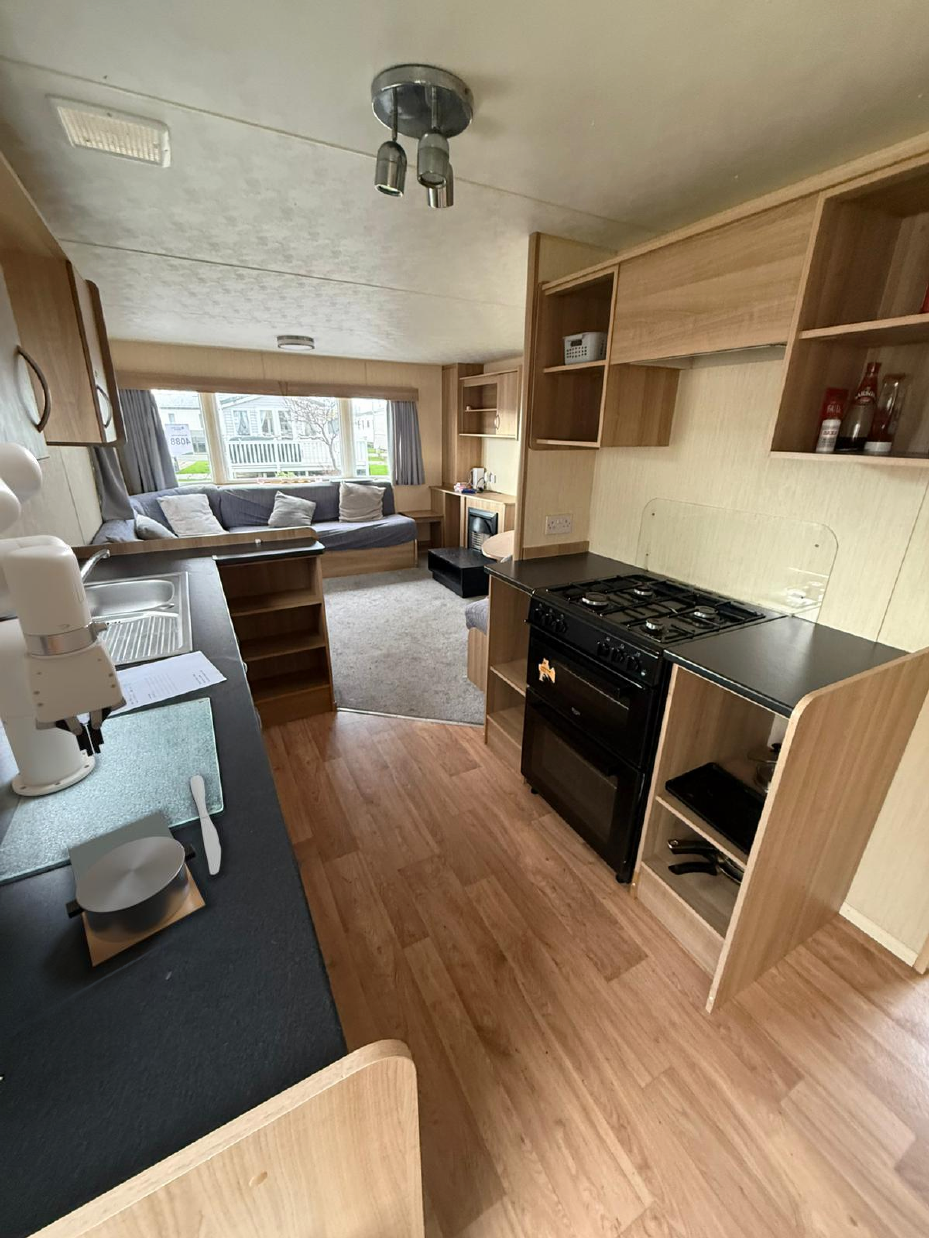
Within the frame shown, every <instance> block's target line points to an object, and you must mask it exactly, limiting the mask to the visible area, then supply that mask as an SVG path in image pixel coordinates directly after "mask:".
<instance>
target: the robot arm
mask: <svg viewBox="0 0 929 1238" xmlns="http://www.w3.org/2000/svg"><path fill="white" fill-rule="evenodd" d="M43 481H44V477H43V472H42V469H41V466H40V464H39V462H38V460H37V458H36V457H35V456H34V454H33V453H32V452H31V451H30V450H28V449H27V448H26V447H25V446H23V445H21V444H19V443H16V442H12V441H0V535H1V534H2V533H5V532H7V531H8V530H10V529H11V528H12V527H13V526H14V525H15V524H16V523H17V522H18V520H19V519H20V516H21V511H22V507H24V506H26V505H27V504H28V503H30V502H31V501H32V500H33V499H34V498H35V497H36V496H37V495H38V494H39V493H40V491H41V490H42V488H43V483H44V482H43ZM14 615H16V616H17V618H13V619H9V620H8V619H7V620H4V621H0V721H1V725H2V727H3V730H4V733H5V736H6V738H7V741H8V745H9V746H10V750H11V752H12V755H13V758H14V761H15V764H16V766H17V769H18V773H17V774H16V775H15V776H14V777H13V779H12V781H11V787H12V789H13V791H14V793H16V794H18V795H21V796H25V797H26V796H27V797H33V796H35V797H36V796H42V795H48V794H52V793H54V792H59V791H61V790H63V789H66V788H68V787H70V786H73V785H75V784H76V783H78V782H79V781H82V780H83V779H84V778H86V777H87V776H89V774H90V773H91V772H93V769H94V768H95V766H96V759H95V756H94V754H95V755H96V754H97V755H100V754H102V750H101V747H100V745H104V744H105V740H104V736H103V733H102V729H101V728H102V727H103V723H104V722H105V721H106V720H107V718H108V717H109V716H110V715H111V713H113V712H116V711H118V710H120V709H122V708H124V707H126V706H127V704H128V703H127V700H126V698H125V696H124V695H123V690H122V687H121V686H122V685H121V682H120V679H119V676H118V672H117V670H116V667H115V663H114V660H113V657H112V655H111V653H110V651H109V647H108V646H107V643H106V641H105V640H104V638H103V637H102V636H100V634H102V633H103V632H107V631H108V629H109V628H108V625H107V622H106V621H100V622H99V621H95V620H93V617H92V613H91V609H90V604H89V600H88V598H87V594H86V589H85V585H84V581H83V576H82V574H81V570H80V565H79V562H78V558H77V556H76V554H75V552H74V551H73V549H72V548H71V546H70V545H69V544H67V543H66V542H65V541H64V540H63V539H61V538H60V537H58V536H54V535H49V534H38V535H29V536H20V537H11V538H9V537H8V538H1V539H0V618H4V617H9V616H14ZM84 714H88V721H87V724H86V725H84V723H83V722H82V721H80V719H79V717H78V716H80V715H84Z"/></svg>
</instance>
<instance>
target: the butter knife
mask: <svg viewBox="0 0 929 1238" xmlns="http://www.w3.org/2000/svg"><path fill="white" fill-rule="evenodd" d="M189 784H190V788H191V792H192V797H193V798H194V801H195V804H196V809H197V811H198V815H199V820H200V825H201V833H202V839H203V844H204V850H205V855H206V858H207V863H208V870H209V875H210V876H211V875H212V876H213V875H217V874H218V873H219V871H220V866H221V858H222V856H221V855H222V848H221V845H220V840H219V835H218V832H217V829H216V827H215V825H214V824H213V822H212V820H211V817H210V815H209V812H208V810H207V805H206V787H205V781H204V779H203V777H202V776H201V775H199V774H197V775H193V776H192V777H191V778H190V780H189Z"/></svg>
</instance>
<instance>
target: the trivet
mask: <svg viewBox="0 0 929 1238" xmlns="http://www.w3.org/2000/svg"><path fill="white" fill-rule="evenodd" d="M184 863H185V867H186V871H187V875H188V879H189V891H188V895H187V897H186V899H185V901H184V903H183V904H182V906H181V907H180V908H179V910H178V911H177V912H176V913H175V914H174V915H173V916H172V917H171V918H170V919H169V920H167V921H166V922H165V923H164V924H162V925H161V926H159V927H158V928H156V929H154V930H153V931H151V932H149V933H147V934H145V935H142V936H140V937H137V938H134V939H131V940H127V941H121V942H106V941H103V940H100V939H98V938H96V937H95V936H94V935H93V934H92V932H91V930H90V927H89V925H88V922H87V919H86V916H85V913H84V912H83V913H81V916H82V920H83V925H84V930H85V935H86V940H87V944H88V948H89V953H90V958H91V963H92V967H95V966H97V965H99V964H101V963H102V962H105V961H106V960H109V959H110V958H111V957H114V956H115V955H118V954H119V953H121V952H123V951H125V950H126V949H128V948H130V947H132V946H134V945H135V944H138V943H139V942H141V941H142V940H144V939H146V938H148V937H150V936H151V935H154V934H155V933H157V932H159V931H161V930H163V929H164V928H166V927H168V926H171V924H173V923H175V922H177V921H179V920H181V919H183V918H185V917H187V916H188V915H190V914H192V913H193V912H195V911H197V910H199V909H201V908H203V907H204V906H206V903H205V901H204V899H203V897H202V895H201V893H200V891H199V889H198V887H197V884H196V882H195V880H194V878H193V876H192V874H191V872H190V870H189V868H188V866H187V864H186V862H184Z"/></svg>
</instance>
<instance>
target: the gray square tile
mask: <svg viewBox="0 0 929 1238" xmlns="http://www.w3.org/2000/svg"><path fill="white" fill-rule="evenodd" d="M148 837H168V838H171V839H174V836H173V834H172V833H171V829H170V828H169V826H168V824H167V822H166V820H165V818H164V815H163V814H162V812H161V810H160V811H158V812H155V813H153V814H151V815H148V816H145V817H143V818H141V819H139V820H137V821H134V822H131V823H128V824H127V825H124V826H122V827H119V828H118V829H115V830H113V831H110V832H107V833H105V834H103V835H100V836H98V837H96V838H93V839H91V840H89V841H86V842H84V843H81V844H79V845H76V846H74V847H72V848H69V849H68V854H69V861H70V864H71V869H72V873H73V878H74V884H75V887H76V889H77V886H78V883H79V881H80V879H81V878H82V876H83V875H84V874H85V872H86V871H87V870H88V869H89V868H90V867H91V866H92V865H93V864H94V863H95V862H96V861H98V860H99V859H100V858H102V857H103V856H104V855H106V854H107V853H109V852H111V851H112V850H114V849H116V848H118V847H120V846H122V845H124V844H127V843H129V842H132V841H135V840H139V839H143V838H148ZM174 840H175V839H174Z"/></svg>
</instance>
